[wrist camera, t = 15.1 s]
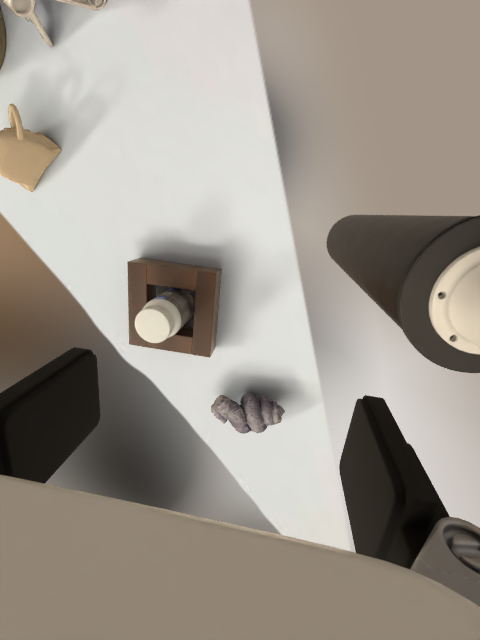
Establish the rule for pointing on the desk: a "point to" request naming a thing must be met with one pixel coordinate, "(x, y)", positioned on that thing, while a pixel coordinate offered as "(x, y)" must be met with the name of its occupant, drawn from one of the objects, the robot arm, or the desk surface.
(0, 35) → the can
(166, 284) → the holder
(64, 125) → the desk surface
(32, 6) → the tablet stand
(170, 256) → the desk surface
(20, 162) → the decorative ornament
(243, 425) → the seashell
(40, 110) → the desk surface
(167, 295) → the pill bottle
